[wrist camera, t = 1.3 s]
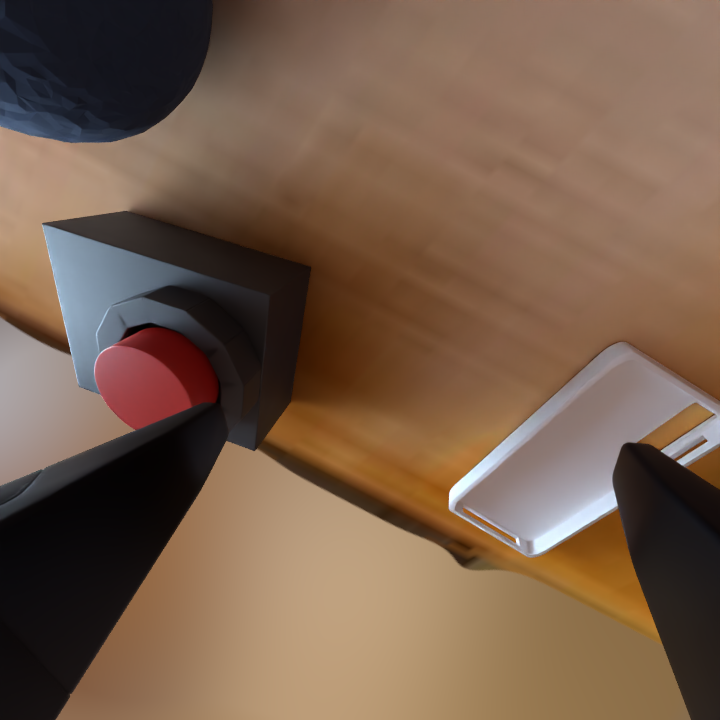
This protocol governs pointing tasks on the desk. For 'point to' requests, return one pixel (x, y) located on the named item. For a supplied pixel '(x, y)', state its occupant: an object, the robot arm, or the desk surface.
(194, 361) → the red button
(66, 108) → the decorative stone
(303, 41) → the desk surface
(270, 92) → the desk surface
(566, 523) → the phone case
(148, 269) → the grey button base
